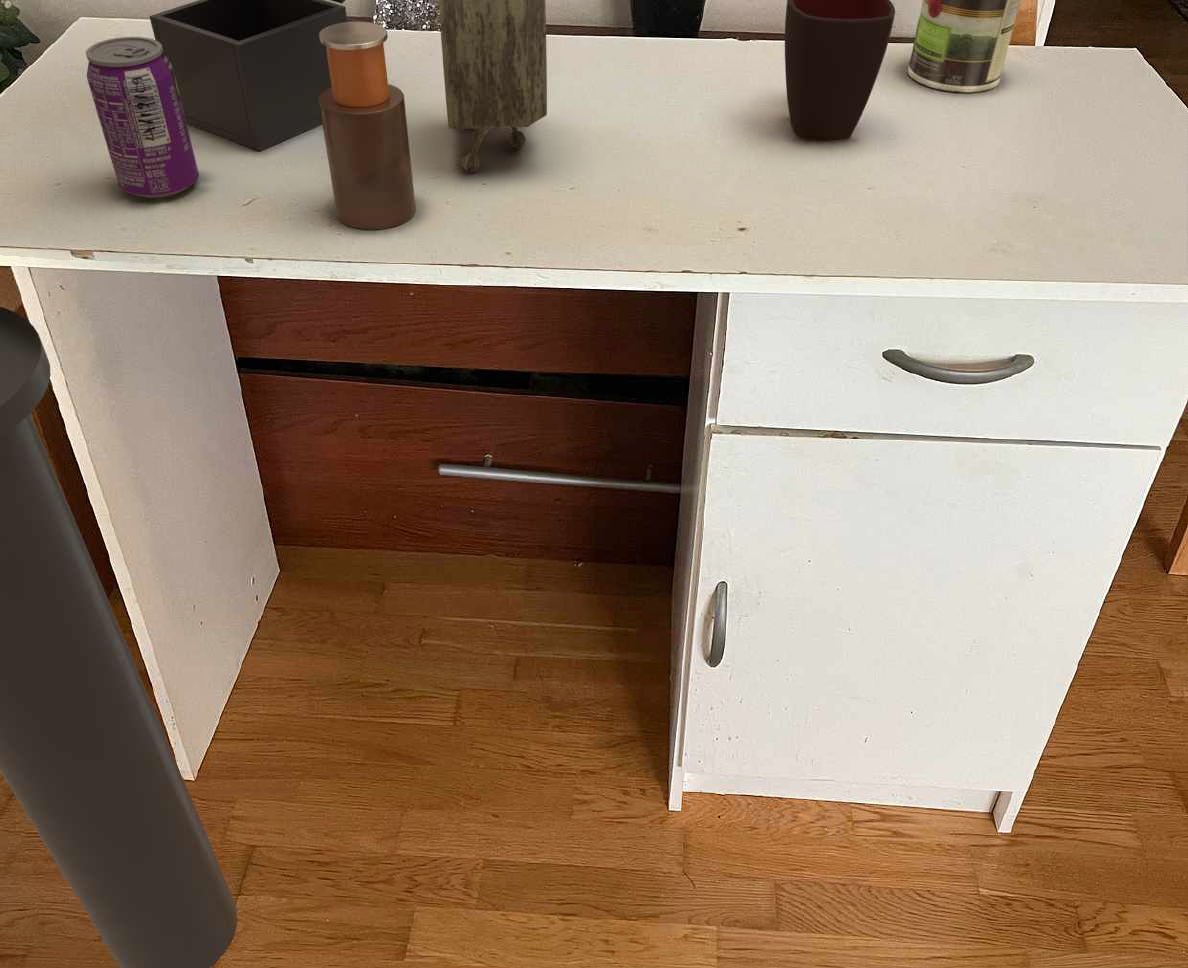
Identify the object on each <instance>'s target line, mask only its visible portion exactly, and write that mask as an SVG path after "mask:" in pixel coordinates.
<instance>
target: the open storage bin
mask: <svg viewBox="0 0 1188 968" xmlns="http://www.w3.org/2000/svg"><path fill="white" fill-rule="evenodd" d="M149 21H150V25H151V28H152V32H153V37H154V40H156V41H158V42H160V43H161V45H162V49H163V54H164V55H165V56H166V58H167V59H168V60H169V62H170V63H171V65H172V67H173V70H174V74H175V78H176V82H177V86H178V90H179V94H180V98H181V103H182V107H183V111H184V115H185V119H186V123H187V125H188V126H192V127H194V128H197V129H200V130H202V131H205V132H208V133H210V134H212V135H216V136H218V137H219V138H223V139H226V140H228V141H231V142H234V143H237V144H239V145H241V146H244V147H246V148H249V149H252V150H256V151H257V152H262V151H264V150H266V149H269V148H271V147H273V146H275V145H278V144H280V143H282V142H285V141H286V140H289V139H291V138H294V137H296V136H298V135H300V134H302V133H305V132H307V131H310V130H312V129H314V128H317V127H318V126H321V125H323V124H322V118H321V112H320V105H319V97H320V95H321V94H322V93H323V92H324V91H326V90H327V89H329V88H331V87H332V86H331V79H330V73H329V66H328V59H327V53H326V46H325V45H323V44H322V43H321V42H320V40H319V33H320V31H321V30H322V29H324V28H326V27H328V26H331V25H334V24H338V23H344V22H348V17H347V10H346V6H344V5H342V4H339V3H336V2H332V1H329V0H195V1H192V2H189V3H185V4H182V5H178V6H177V7H174V8H171V9H168V10H164V11H161V12H158V13H154V14H152V15H149Z"/></svg>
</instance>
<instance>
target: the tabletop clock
mask: <svg viewBox="0 0 1188 968" xmlns="http://www.w3.org/2000/svg"><path fill="white" fill-rule="evenodd" d="M437 1H438V15H439V27H440V28H439V30H440V41H441V51H442V52H441V54H442V68H443V80H444V92H445V93H444V94H445V103H446V104H445V105H446V116H447V117H446V118H447V127H448V130H465V129H466V130H467V129H469V130H470V129H472V130H473V129H474V134H473V140H472V144H471V148H470V153H467V154H465V155H464V156H463V157H462V159H461V166H462V168H463V170H465V172H468V173H475V172H476V170H478V168H479V166H480V161H479V157H477V154H478V151H479V148H480V146H481V143H482V141H483V139H484V137H485V135H486V134H487V133H488V131H489V130H491V129H504V128H507V129H508V128H510V130H511V131H512V132H511V133H510V134H509V138H508V141H509V143H510V145H511V146H512V147H513V148H516V149H519V148H522V147H524V145H525V143H526V140H527V138H526V136H525V133H524V132H523V131H521V130H519V129H518V128H528V127H531V126H532V125H533V124H535V123H537V122H538V121H539V120H542V119H543V118H544V117H546V116H548V80H547V79H548V67H547V66H548V65H547V63H548V62H547V11H546V8H547V7H546V0H437Z"/></svg>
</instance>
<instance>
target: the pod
mask: <svg viewBox="0 0 1188 968" xmlns="http://www.w3.org/2000/svg"><path fill="white" fill-rule="evenodd" d="M388 37H389V35H388V31H387V28H385V27H384V26H383V25H381V24H377V23H374V22H369V21H347V22H344V23H338V24H334V25H331V26H328V27H326V28H324V29H322V30H321V31H320V33H319V40H320V42H321V43H322V44H323V45H325V46H326V53H327V59H328V66H329V73H330V79H331V86H332V93H333V99H334V101H335V102H336V103H338V104H340V105H343V106H347V107H357V108H360V107H370V106H375V105H378V104H381V103H383V102H385V101H386V100H387V99H388V98H389V88H388V84H389V79H388V71H387V63H386V53H385V46H384V43H385V42H386V41H387V40H388Z"/></svg>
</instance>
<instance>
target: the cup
mask: <svg viewBox="0 0 1188 968" xmlns="http://www.w3.org/2000/svg"><path fill="white" fill-rule="evenodd" d="M895 16H896V9H895V6H894V3H893V2H892V1H891V0H786V7H785V19H784V22H785V23H784V67H785V87H786V99H787V100H786V101H787V108H788V114H789V120H790V126H791V129H792V130H793V132H794V133H795V135H796V136H797V137H799V138H800V139H802V140H803V141H811V142H813V141H814V142H837V141H839V142H840V141H843V140H844V141H845V140H849V139H850V138H851V136H852V135H853V133H854V131H855V130H856V127H857V126H858V123H859V121H860V120H861V118H862V115H863V113H864V111H865V109H866V106H867V104H868V102H869V99H870V96H871V94H872V92H873V89H874V86H875V83H876V80H877V78H878V75H879V72H880V69H881V66H882V64H883V62H884V58H885V56H886V55H885V54H886V52H887V49H888V46H889V41H890V37H891V34H892V31H893V30H892V29H893V26H894V25H893V24H894V21H895Z"/></svg>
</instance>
